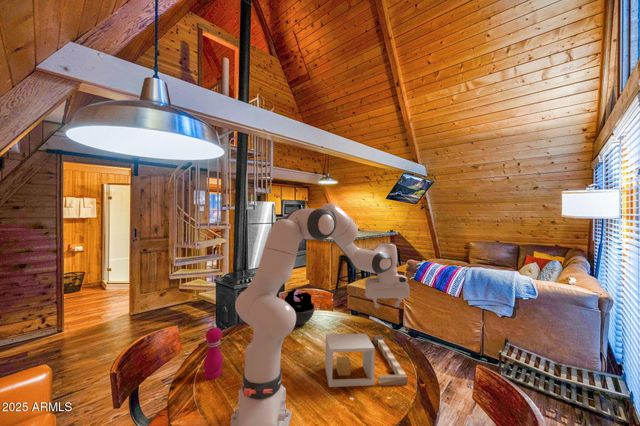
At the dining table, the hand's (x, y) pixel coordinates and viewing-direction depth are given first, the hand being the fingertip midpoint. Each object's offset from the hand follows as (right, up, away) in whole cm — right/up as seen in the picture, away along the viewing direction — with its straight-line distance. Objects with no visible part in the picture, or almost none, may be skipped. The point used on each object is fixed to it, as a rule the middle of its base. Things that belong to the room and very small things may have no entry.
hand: (387, 307), depth 122 cm
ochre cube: (-21, -22, -13) cm, 33 cm away
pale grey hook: (-4, -23, -3) cm, 23 cm away
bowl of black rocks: (-44, -22, +34) cm, 60 cm away
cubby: (-19, -22, -16) cm, 33 cm away
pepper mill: (-74, -21, -17) cm, 78 cm away
